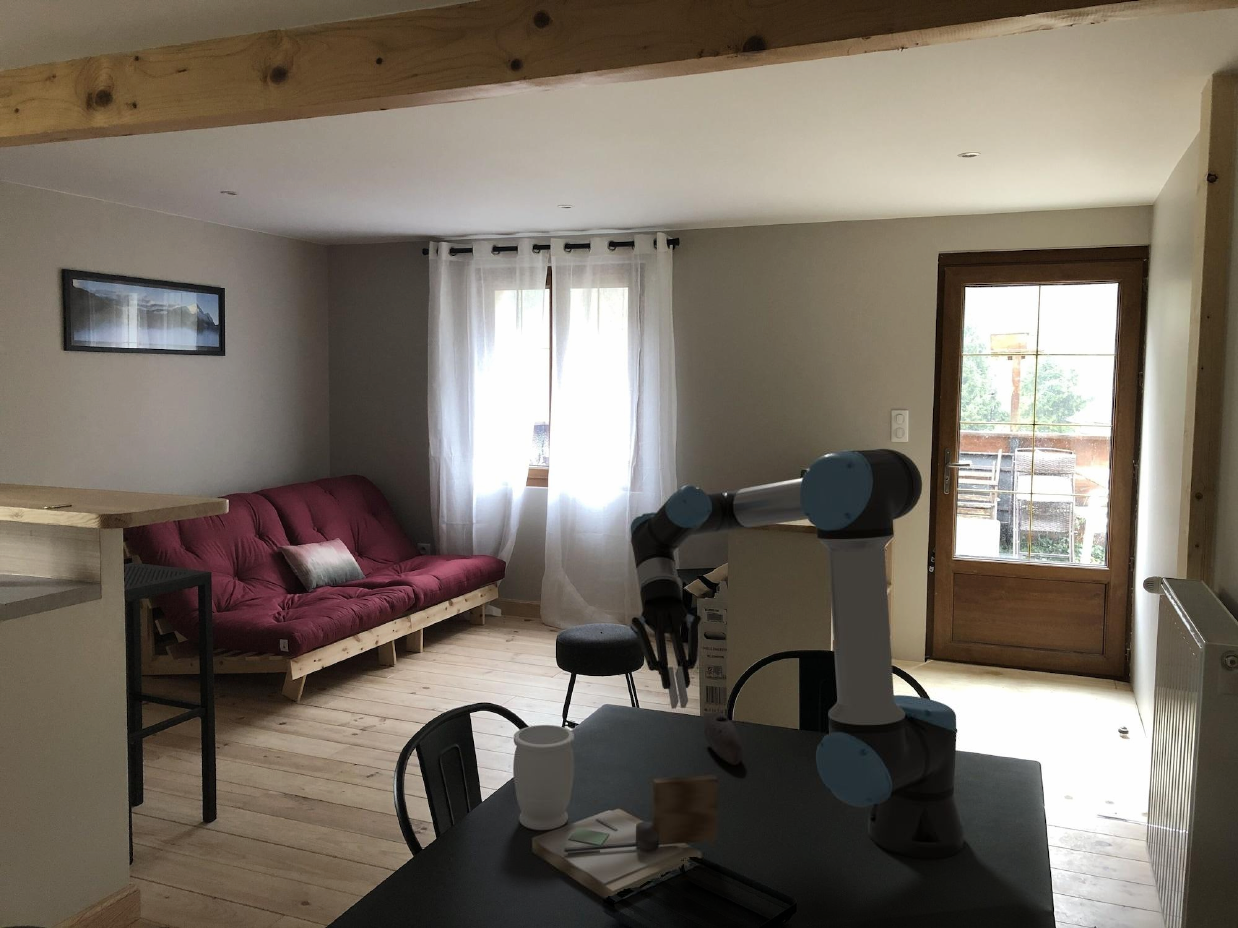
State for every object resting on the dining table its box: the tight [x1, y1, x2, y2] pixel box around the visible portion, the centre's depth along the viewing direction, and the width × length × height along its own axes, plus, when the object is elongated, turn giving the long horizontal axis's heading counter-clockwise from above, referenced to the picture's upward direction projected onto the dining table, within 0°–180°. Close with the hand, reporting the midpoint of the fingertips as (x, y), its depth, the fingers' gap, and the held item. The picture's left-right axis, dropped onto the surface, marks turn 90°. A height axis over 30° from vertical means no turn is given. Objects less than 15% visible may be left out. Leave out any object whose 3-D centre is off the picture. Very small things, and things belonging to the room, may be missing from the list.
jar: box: [512, 724, 575, 831], centre depth 163 cm, size 11×10×15 cm
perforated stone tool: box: [704, 712, 743, 766], centre depth 192 cm, size 15×5×7 cm, turn 11°
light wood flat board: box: [531, 808, 703, 900], centre depth 150 cm, size 20×18×2 cm
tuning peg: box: [564, 774, 719, 852], centre depth 149 cm, size 24×4×10 cm, turn 100°
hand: (679, 704), depth 163 cm, fingers closed
